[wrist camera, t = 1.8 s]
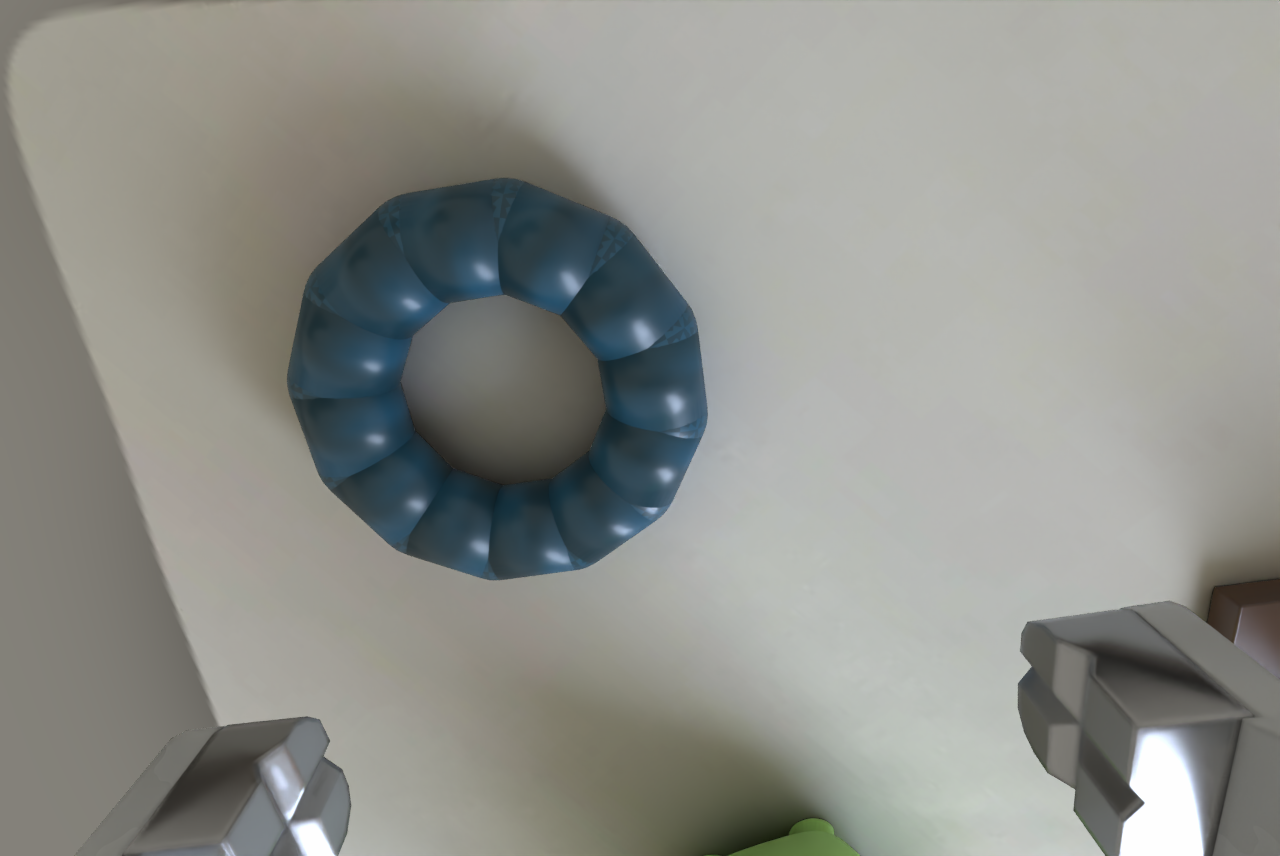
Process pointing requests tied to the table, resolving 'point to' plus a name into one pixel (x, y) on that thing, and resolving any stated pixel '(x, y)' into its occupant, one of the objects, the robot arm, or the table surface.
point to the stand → (1250, 619)
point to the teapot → (803, 842)
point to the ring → (539, 275)
